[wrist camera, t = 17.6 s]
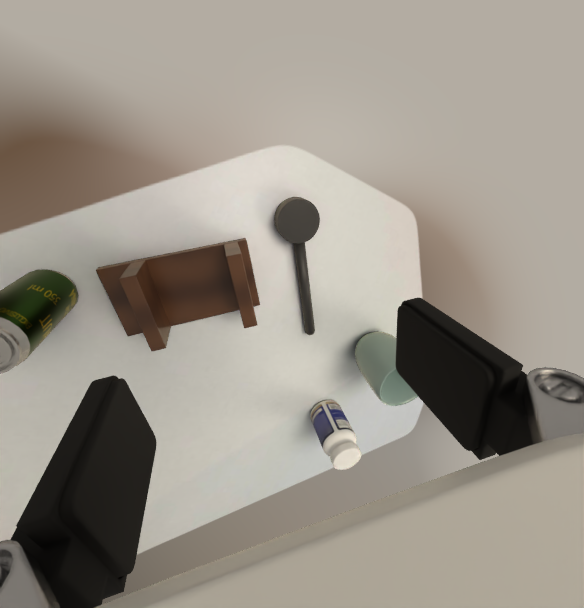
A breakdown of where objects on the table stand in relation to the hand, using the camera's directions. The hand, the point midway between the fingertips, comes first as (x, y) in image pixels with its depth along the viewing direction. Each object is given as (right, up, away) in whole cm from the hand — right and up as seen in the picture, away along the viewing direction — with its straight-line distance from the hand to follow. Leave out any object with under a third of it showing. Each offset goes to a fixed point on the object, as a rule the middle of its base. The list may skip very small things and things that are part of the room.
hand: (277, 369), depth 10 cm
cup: (+13, -4, +39) cm, 41 cm away
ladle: (+2, +7, +30) cm, 30 cm away
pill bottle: (+6, -17, +43) cm, 47 cm away
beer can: (-27, +4, +23) cm, 36 cm away
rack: (-13, +4, +27) cm, 30 cm away
